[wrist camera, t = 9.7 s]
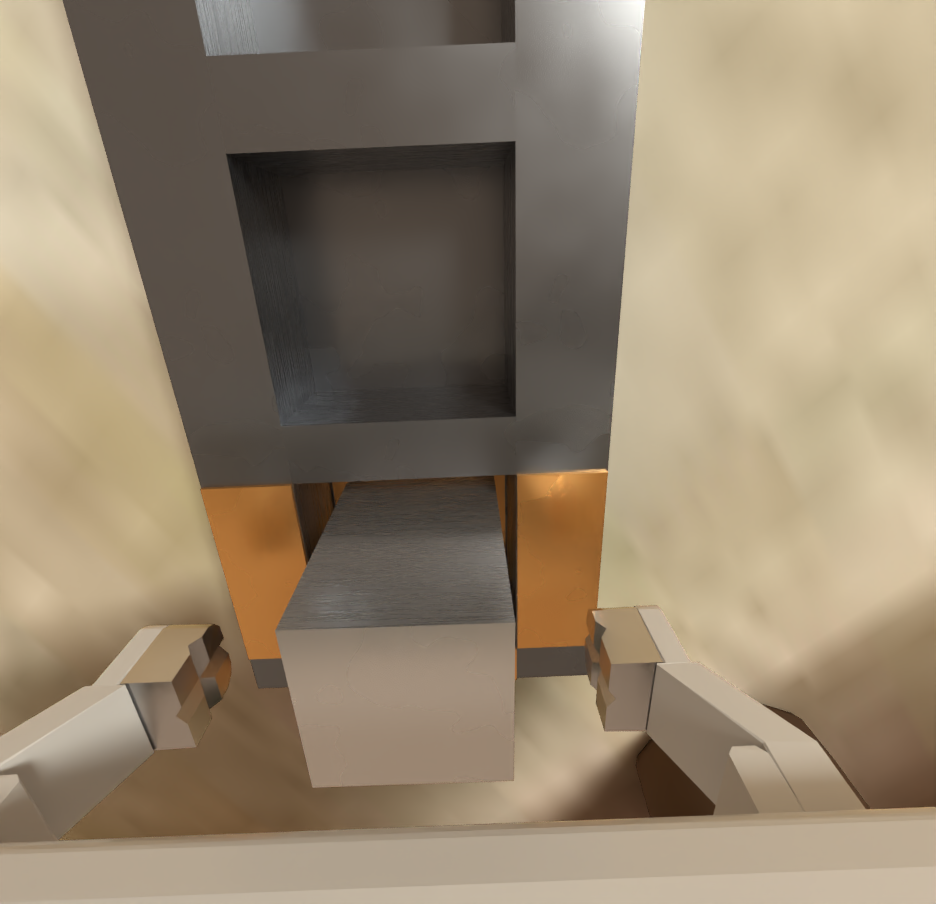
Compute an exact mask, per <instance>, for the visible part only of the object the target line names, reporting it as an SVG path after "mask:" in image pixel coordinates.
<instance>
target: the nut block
mask: <svg viewBox="0 0 936 904" xmlns="http://www.w3.org/2000/svg"><path fill="white" fill-rule="evenodd" d="M275 633H276V637H277V641H278V645H279V650H280V654H281V658H282V662H283V666H284V671H285V675H286V679H287V683H288V687H289V692H290V696H291V700H292V704H293V708H294V713H295V717H296V721H297V725H298V729H299V734H300V738H301V742H302V746H303V750H304V755H305V759H306V763H307V767H308V771H309V776H310V780H311V784H312V788H316V787H345V786H374V785H403V784H433V783H462V782H491V781H514V710H515V617H514V610H513V603H512V596H511V590H510V583H509V576H508V569H507V562H506V555H505V548H504V542H503V535H502V528H501V521H500V514H499V507H498V501H497V494H496V487H495V480H494V475H493V476H469V477H446V478H422V479H398V480H374V481H351V482H347V484H346V486H345V488H344V490H343V492H342V494H341V496H340V498H339V500H338V502H337V504H336V506H335V508H334V510H333V512H332V514H331V517H330V519H329V521H328V523H327V525H326V527H325V529H324V531H323V533H322V535H321V537H320V539H319V541H318V543H317V545H316V547H315V549H314V552H313V554H312V556H311V558H310V560H309V562H308V564H307V566H306V568H305V570H304V572H303V574H302V576H301V578H300V580H299V582H298V585H297V587H296V589H295V591H294V593H293V595H292V597H291V599H290V601H289V603H288V605H287V607H286V609H285V611H284V613H283V615H282V618H281V620H280V622H279V624H278V626H277V628H276V630H275Z"/></svg>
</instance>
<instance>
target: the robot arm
mask: <svg viewBox="0 0 936 904" xmlns="http://www.w3.org/2000/svg"><path fill="white" fill-rule="evenodd" d="M586 624H587V628H588V631H589V635H588V636H587V638H586V639H585V663H586V669H587V674H588V678H589V681H590V685H592V686H593V687H594V688H595V689H596V690H597V694H596V705H597V708H598V711H599V715H600V718H601V721H602V725H603V728H604V731H647V734H648V735H649V736H650V737H651V738H652V739H653V740H654V741H655V743H656V744H657V745H658V746H659V747H660V748H661V749H662V750H663V751H664V752H665V753H666V754H667V755H668V756H669V757H670V758H671V759H672V760H673V761H674V762H675V763H676V764H677V765H678V766H679V768H680V769H681V770H682V771H683V772H684V773H685V774H686V775H687V776H688V777H689V778H690V779H691V780H692V781H693V782H694V783H695V784H696V785H697V786H698V787H699V788H700V789H701V790H702V791H703V793H704V794H705V795H706V796H707V797H708V798H709V799H710V800H711V801H712V802H713V803H714V804H715V805H716V806H715V810H714V814H713V815H706V816H680V817H654V818H627V819H601V820H575V821H549V822H524V823H499V824H474V825H449V826H423V827H397V828H371V829H345V830H318V831H292V832H265V833H239V834H213V835H187V836H161V837H135V838H110V839H84V840H59V839H60V838H61V837H62V836H63V835H64V834H66V833H67V832H68V831H69V830H70V829H71V828H72V827H73V826H74V825H75V824H77V823H78V822H79V821H80V820H81V819H82V818H83V817H84V816H85V815H86V814H88V813H89V812H90V811H91V810H92V809H93V808H94V807H95V806H96V805H97V804H98V803H100V802H101V801H102V800H103V799H104V798H105V797H106V796H107V795H108V794H109V793H111V792H112V791H113V790H114V789H115V788H116V787H117V786H118V785H119V784H120V783H122V782H123V781H124V780H125V779H126V778H127V777H128V776H129V775H130V774H131V773H133V772H134V771H135V770H136V769H137V768H138V767H139V766H140V765H141V764H142V763H143V762H145V761H146V760H147V759H148V758H149V757H150V756H151V755H152V754H153V753H154V750H166V749H180V748H195V747H197V745H198V743H199V741H200V740H201V738H202V736H203V734H204V732H205V730H206V728H207V727H208V725H209V723H210V721H211V719H212V715H211V712H210V708H211V707H213V706H214V705H215V704H217V703H218V702H219V701H220V700H222V698H223V696H224V694H225V692H226V690H227V688H228V685H229V681H230V677H231V661H230V657H229V654H228V653H227V652H226V651H225V650H224V649H222V648H221V647H220V646H219V645H220V643H221V641H222V640H223V635H222V632H221V629H220V626H217V625H215V624H188V625H154V626H146V627H144V628H142V629H140V630H139V631H138V632H137V633H136V635H135V636H134V637H133V638H132V639H131V640H130V642H129V643H128V644H127V645H126V646H125V647H124V649H123V650H122V651H121V652H120V653H119V654H118V656H117V657H116V658H115V659H114V660H113V662H112V663H111V664H110V665H109V666H108V667H107V669H106V670H105V671H104V672H103V673H102V674H101V676H100V677H99V678H98V679H97V680H96V681H95V683H94V684H93V685H92V686H84V687H82V688H81V689H79V690H77V691H75V692H74V693H72V694H70V695H69V696H67V697H65V698H64V699H62V700H60V701H59V702H57V703H55V704H54V705H52V706H50V707H49V708H47V709H45V710H44V711H42V712H40V713H39V714H37V715H35V716H34V717H32V718H30V719H29V720H27V721H25V722H24V723H22V724H20V725H19V726H17V727H15V728H14V729H12V730H10V731H9V732H7V733H5V734H4V735H2V736H0V904H936V807H915V808H890V809H865V807H864V806H863V805H862V803H861V802H860V800H859V799H858V798H857V796H856V795H855V793H854V792H853V791H852V789H851V788H850V786H849V785H848V784H847V782H846V781H845V780H844V778H843V777H842V775H841V774H840V773H839V771H838V770H837V768H836V767H835V766H834V764H833V763H832V761H831V760H830V759H829V757H828V756H827V755H826V753H825V752H824V750H823V749H822V748H821V746H820V745H819V743H818V742H817V741H816V740H814V739H813V738H811V737H810V736H808V735H807V734H805V733H804V732H802V731H801V730H799V729H798V728H796V727H795V726H793V725H792V724H790V723H789V722H787V721H786V720H784V719H783V718H781V717H780V716H778V715H777V714H775V713H774V712H772V711H771V710H769V709H768V708H766V707H765V706H763V705H762V704H760V703H759V702H757V701H756V700H754V699H753V698H751V697H750V696H749V695H747V694H746V693H744V692H743V691H741V690H740V689H738V688H737V687H735V686H734V685H732V684H731V683H729V682H728V681H726V680H725V679H723V678H722V677H720V676H719V675H717V674H716V673H714V672H713V671H711V670H710V669H708V668H707V667H705V666H704V665H702V664H701V663H699V662H691V661H690V659H689V657H688V655H687V654H686V652H685V650H684V648H683V646H682V645H681V643H680V641H679V639H678V638H677V636H676V634H675V632H674V631H673V629H672V627H671V625H670V623H669V622H668V620H667V618H666V616H665V615H664V613H663V611H662V609H661V608H660V607H659V606H657V605H648V606H634V607H619V608H598V609H588V612H587V619H586Z"/></svg>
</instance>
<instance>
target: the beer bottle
mask: <svg viewBox="0 0 936 904" xmlns="http://www.w3.org/2000/svg"><path fill="white" fill-rule="evenodd" d="M760 704H761V703H760ZM762 705H763V706H765V707H766V708H768V709H769V710H771V711H772V712H774V713H775V714H777V715H778V716H780V717H781V718H783V719H784V720H786V721H787V722H789V723H790V724H792V725H793V726H795V727H796V728H798V729H799V730H801V731H802V732H804V733H805V734H807V735H808V736H810V737H811V738H813V739H814V740H816V741H817V742H818V743H819V745H820V746H821V748H822V749H823V750H824V752H825V753H826V755H827V756H828V757H829V759H830V760H831V761H832V763H833V764H834V766H835V767H836V768H837V770H838V771H839V773H840V774H841V775H842V777H843V778H844V780H845V781H846V782H847V784H848V785H849V786H850V788H851V789H852V791H853V792H854V793H855V795H856V796H857V798H858V799H859V800H860V802H861V803H862V805H863V806H864V807H865V809H870V808H869V807H868V805H867V804H866V802H865V801H864V800H863V798H862V797H861V796H860V794H859V793H858V792H857V790H856V789H855V787H854V786H853V785H852V783H851V782H850V781H849V779H848V778H847V776H846V775H845V774H844V772H843V771H842V770H841V768H840V767H839V766H838V764H837V763H836V761H835V760H834V759H833V758H832V756H831V755H830V754H829V753H828V751H827V750H826V749H825V748H824V746H823V745H822V744H821V743H820V742H819V740H818V739H817V738H816V737H815V735H814V734H813V733H812V732H811V730H810V729H809V728H808V727H807V726H806V724H805V723H804V722H803V721H802V719H800V718H799V717H797V716H795V715H793V714H792V713H789V712H786V711H783V710H780V709H777V708H773V707H770V706H767V705H764V704H762ZM636 768H637V771H638V775H639V779H640V782H641V786H642V789H643V793H644V796H645V800H646V804H647V807H648V811H649V814H650V817H651V818H654V817H680V816H706V815H713V814H714V810H715V806H716V805H715V804H714V803H713V802H712V801H711V800H710V799H709V798H708V797H707V796H706V795H705V794H704V793H703V791H702V790H701V789H700V788H699V787H698V786H697V785H696V784H695V783H694V782H693V781H692V780H691V779H690V778H689V777H688V776H687V775H686V774H685V773H684V772H683V771H682V770H681V769H680V768H679V766H678V765H677V764H676V763H675V762H674V761H673V760H672V759H671V758H670V757H669V756H668V755H667V754H666V753H665V752H664V751H663V750H662V749H661V748H660V747H659V746H658V745H657V744H656V743H655V741H654V740H653V739H651V740H650V741H649V743H648V744H647V745H646V746H645V748H644V749H643V750H642V752H641V753H640V754H639V755H638V757H637V762H636Z"/></svg>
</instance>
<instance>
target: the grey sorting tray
mask: <svg viewBox="0 0 936 904" xmlns="http://www.w3.org/2000/svg"><path fill="white" fill-rule="evenodd" d="M63 3H64V7H65V10H66V14H67V18H68V21H69V25H70V28H71V32H72V35H73V39H74V42H75V46H76V49H77V53H78V56H79V60H80V63H81V67H82V70H83V74H84V77H85V81H86V84H87V88H88V91H89V95H90V98H91V102H92V105H93V109H94V112H95V116H96V119H97V123H98V126H99V130H100V134H101V137H102V141H103V144H104V148H105V151H106V155H107V158H108V162H109V165H110V169H111V172H112V176H113V179H114V183H115V186H116V190H117V193H118V197H119V200H120V204H121V207H122V211H123V214H124V218H125V221H126V225H127V228H128V232H129V235H130V239H131V242H132V246H133V250H134V253H135V257H136V260H137V264H138V267H139V271H140V274H141V278H142V281H143V285H144V288H145V292H146V295H147V299H148V302H149V306H150V309H151V313H152V316H153V320H154V323H155V327H156V330H157V334H158V337H159V341H160V344H161V348H162V351H163V355H164V359H165V362H166V366H167V369H168V373H169V376H170V380H171V383H172V387H173V390H174V394H175V397H176V401H177V404H178V408H179V411H180V415H181V418H182V422H183V425H184V429H185V432H186V436H187V439H188V443H189V446H190V450H191V453H192V457H193V460H194V464H195V467H196V471H197V475H198V478H199V482H200V485H201V489H200V490H201V494H202V497H203V501H204V504H205V508H206V511H207V515H208V518H209V522H210V525H211V529H212V532H213V536H214V539H215V543H216V546H217V550H218V553H219V557H220V560H221V564H222V567H223V571H224V574H225V578H226V581H227V585H228V588H229V592H230V595H231V599H232V602H233V606H234V609H235V613H236V616H237V620H238V623H239V627H240V630H241V634H242V637H243V641H244V644H245V648H246V651H247V655H248V658H249V660H250V661H251V664H252V668H253V671H254V675H255V678H256V682H257V685H258V688H280V687H288V683H287V679H286V675H285V671H284V666H283V662H282V658H281V654H280V650H279V645H278V641H277V637H276V633H275V630H276V628H277V626H278V624H279V622H280V620H281V618H282V615H283V613H284V611H285V609H286V607H287V605H288V603H289V601H290V599H291V597H292V595H293V593H294V591H295V589H296V587H297V585H298V582H299V580H300V578H301V576H302V574H303V572H304V570H305V568H306V566H307V564H308V562H309V560H310V558H311V556H312V554H313V552H314V549H315V547H316V545H317V543H318V541H319V539H320V537H321V535H322V533H323V531H324V529H325V527H326V525H327V523H328V521H329V519H330V517H331V514H332V512H333V510H334V508H335V506H336V504H337V502H338V500H339V498H340V496H341V494H342V492H343V490H344V488H345V486H346V484H347V482H351V481H374V480H398V479H422V478H446V477H469V476H493V475H494V480H495V487H496V494H497V501H498V507H499V514H500V521H501V528H502V535H503V542H504V548H505V555H506V562H507V569H508V576H509V583H510V590H511V596H512V603H513V610H514V617H515V680H517V678H524V677H548V676H572V675H588V674H587V669H586V663H585V639H586V638H587V636H588V635H589V631H588V628H587V624H586V619H587V612H588V609H597V601H598V589H599V576H600V563H601V551H602V538H603V526H604V513H605V501H606V488H607V476H608V460H609V447H610V435H611V422H612V409H613V397H614V384H615V372H616V359H617V347H618V334H619V321H620V309H621V296H622V284H623V271H624V259H625V246H626V233H627V221H628V208H629V196H630V183H631V171H632V158H633V145H634V133H635V120H636V108H637V95H638V83H639V70H640V57H641V45H642V32H643V20H644V7H645V0H63Z"/></svg>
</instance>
